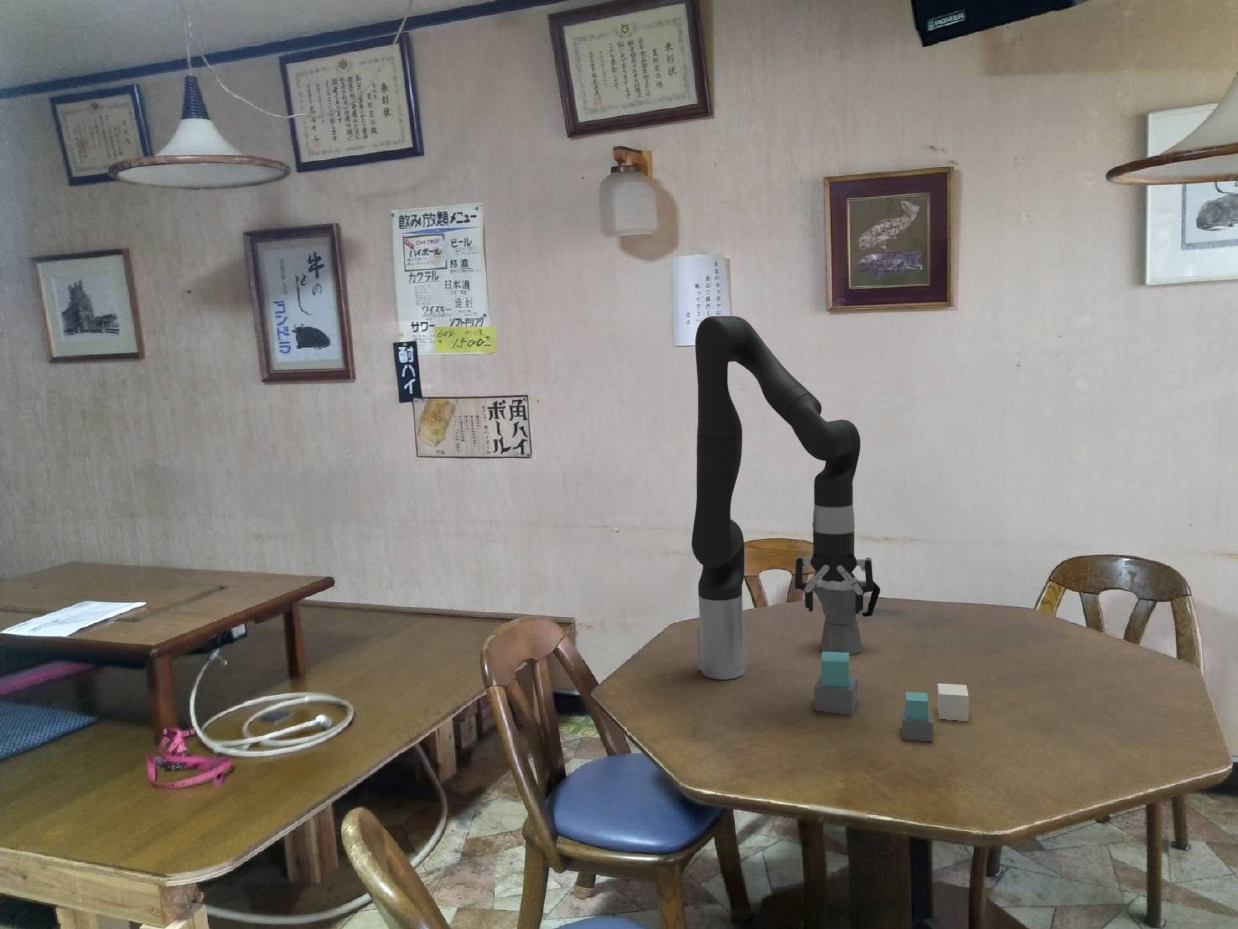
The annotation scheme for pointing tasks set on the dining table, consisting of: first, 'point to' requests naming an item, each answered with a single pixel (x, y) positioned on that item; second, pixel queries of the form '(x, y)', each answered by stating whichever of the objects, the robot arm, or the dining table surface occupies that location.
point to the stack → (917, 718)
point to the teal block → (835, 669)
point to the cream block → (953, 702)
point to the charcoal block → (836, 697)
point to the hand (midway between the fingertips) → (833, 611)
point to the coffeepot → (842, 615)
